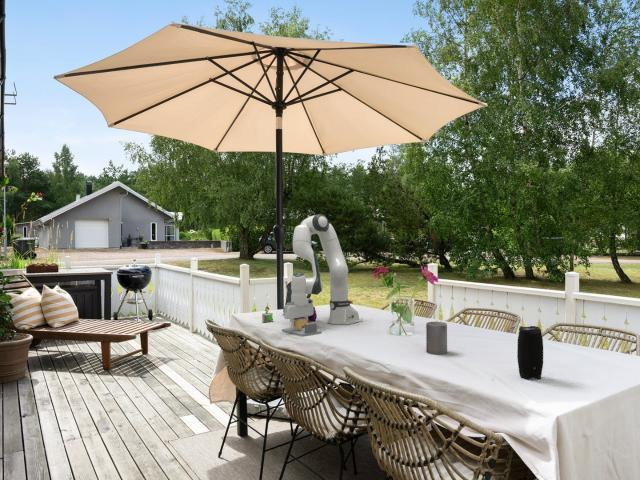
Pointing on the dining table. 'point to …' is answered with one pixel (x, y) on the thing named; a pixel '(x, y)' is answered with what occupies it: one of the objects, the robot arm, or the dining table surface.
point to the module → (300, 323)
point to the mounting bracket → (310, 318)
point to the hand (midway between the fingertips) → (299, 325)
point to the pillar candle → (436, 338)
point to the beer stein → (289, 293)
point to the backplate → (303, 330)
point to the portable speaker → (530, 352)
